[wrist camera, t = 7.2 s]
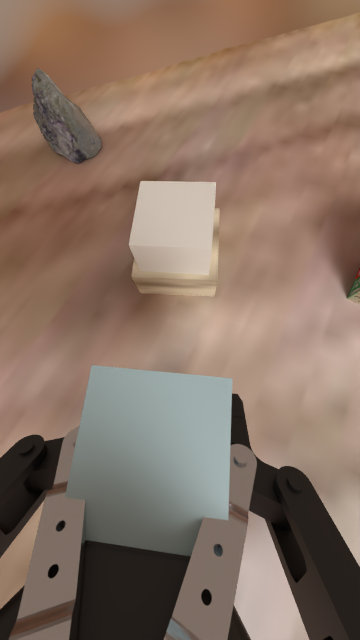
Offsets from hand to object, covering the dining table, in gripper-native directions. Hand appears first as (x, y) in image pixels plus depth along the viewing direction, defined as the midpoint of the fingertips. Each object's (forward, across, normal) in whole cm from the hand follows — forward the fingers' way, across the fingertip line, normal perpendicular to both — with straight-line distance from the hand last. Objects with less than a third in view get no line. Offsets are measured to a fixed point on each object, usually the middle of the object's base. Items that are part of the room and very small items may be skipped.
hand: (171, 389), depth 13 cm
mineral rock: (+39, +24, -18) cm, 49 cm away
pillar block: (+2, 0, +4) cm, 5 cm away
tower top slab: (+19, +2, -5) cm, 19 cm away
